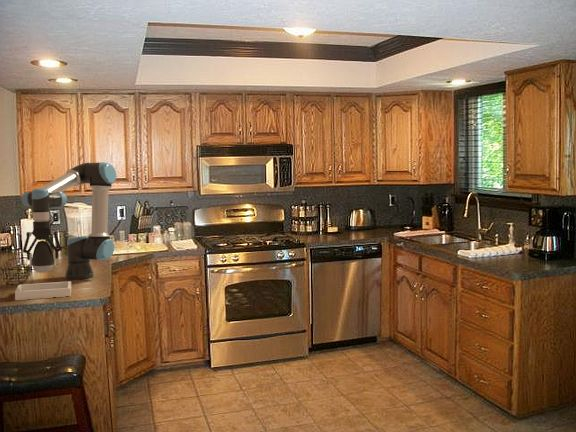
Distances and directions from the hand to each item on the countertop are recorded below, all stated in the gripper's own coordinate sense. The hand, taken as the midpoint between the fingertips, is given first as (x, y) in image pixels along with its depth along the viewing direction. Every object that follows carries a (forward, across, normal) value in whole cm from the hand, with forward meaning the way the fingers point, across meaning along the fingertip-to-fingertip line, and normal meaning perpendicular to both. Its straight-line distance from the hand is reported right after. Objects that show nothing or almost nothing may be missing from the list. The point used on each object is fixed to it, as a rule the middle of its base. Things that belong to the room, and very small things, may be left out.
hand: (43, 265), depth 290 cm
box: (+14, 0, 0) cm, 14 cm away
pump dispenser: (+3, 0, 0) cm, 3 cm away
